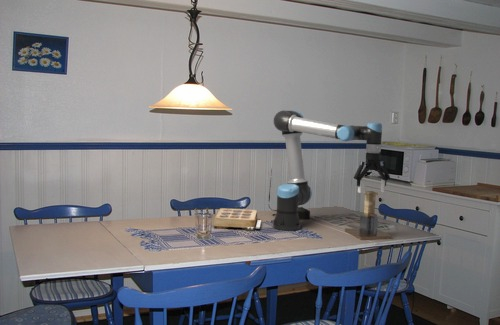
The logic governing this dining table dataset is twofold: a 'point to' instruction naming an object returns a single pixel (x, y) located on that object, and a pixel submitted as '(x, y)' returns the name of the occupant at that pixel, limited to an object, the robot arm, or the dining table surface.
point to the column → (369, 203)
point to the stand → (368, 229)
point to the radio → (302, 211)
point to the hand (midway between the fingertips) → (371, 192)
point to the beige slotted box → (236, 219)
